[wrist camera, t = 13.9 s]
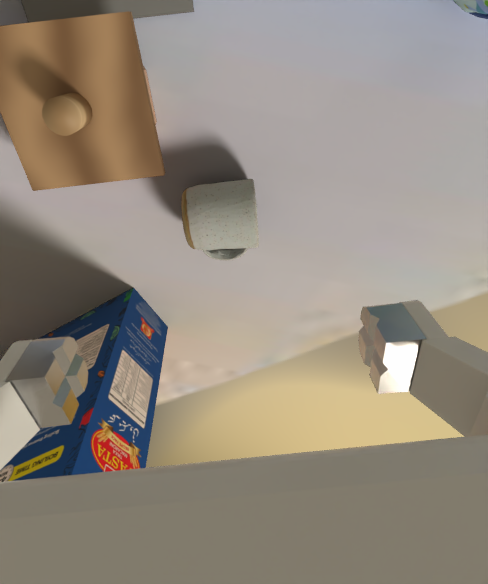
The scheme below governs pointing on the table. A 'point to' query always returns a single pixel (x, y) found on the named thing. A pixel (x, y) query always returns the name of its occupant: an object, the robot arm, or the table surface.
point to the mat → (101, 8)
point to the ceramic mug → (221, 218)
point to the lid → (78, 101)
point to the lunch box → (474, 7)
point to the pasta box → (103, 395)
